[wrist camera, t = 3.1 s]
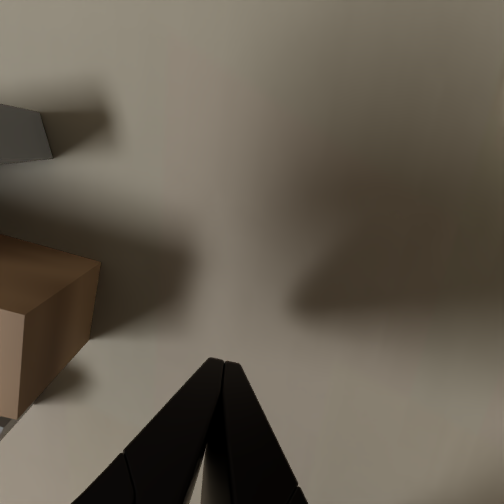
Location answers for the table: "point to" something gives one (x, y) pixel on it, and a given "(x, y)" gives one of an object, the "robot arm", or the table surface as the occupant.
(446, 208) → the table surface
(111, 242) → the table surface
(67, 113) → the table surface
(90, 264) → the batten
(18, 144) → the guide
